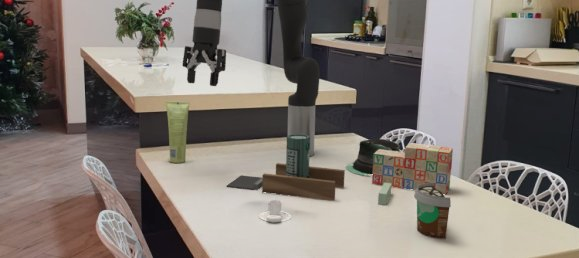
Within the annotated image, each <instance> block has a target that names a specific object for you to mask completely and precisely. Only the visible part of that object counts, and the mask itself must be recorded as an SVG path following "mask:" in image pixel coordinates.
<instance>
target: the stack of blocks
mask: <svg viewBox="0 0 579 258" xmlns="http://www.w3.org/2000/svg"><path fill="white" fill-rule="evenodd" d="M404 148H405V149H404V151H399V152H398V151H390V150H382V149H379V150H378V151H376V152H375V153H374V154H373V175H371V176H372V177H371V178H372V179H371V184H372V185H378V184H379V185H380V186H383V184H384V183H392V184H391V186H393V187H392V188H396V187H398V189H403V188H406V190H410V189H413V190H412V191H416V189H417V187H418V186H419V185H420V184H424V183H432V182H434V187H435V188H436V189H437V190H439V191H441V192H442V194H445V195H444V196H446V195H447V194H448V192H449V190H450V186H451V177H452V175H451V173H452V166H453V165H452V164H453V153H454V152H453V151H454V148H453V147H448V146H447V147H446V146H441V145H435V144H424V143H414V142H413V143H412V142H409V143H408V144H407V145H406V146H405V147H404ZM446 193H447V194H446Z"/></svg>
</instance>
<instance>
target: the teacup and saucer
mask: <svg viewBox="0 0 579 258" xmlns="http://www.w3.org/2000/svg"><path fill="white" fill-rule="evenodd" d="M282 203H283V202H282V201H281V200H277V199H271V200H269V201H268V210H267V211H262V212H261V213H259V215H258V218H259V219H261V220H262V221H264V222H268V223H282V222H287V221H290V220H291V219H292V217H293V216H292V214H290V213H289V212H288V211H282ZM267 212H269V213H267ZM281 212H284V213H286V214H289V215H288V216H289V217H287V216H286V217H285V218H284V219H282V216H281V214H282V213H281ZM265 213H267V214H269V215H267V216H265V215H266V214H265ZM264 214H265V215H264ZM263 216H265V217H263Z"/></svg>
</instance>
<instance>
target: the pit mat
mask: <svg viewBox="0 0 579 258" xmlns="http://www.w3.org/2000/svg"><path fill="white" fill-rule="evenodd" d="M225 186H226V188H232V189H242V190H248V191H249V190H250V191H254V190H255V191H259V190H260V189H262V177H260V176H259V177H258V176H249V175H243V174H242V175H241V174H240V175H239V176H237V178H235V179H233V180H232V181H231V182H229V183H228V184H227V185H225ZM258 189H259V190H258Z"/></svg>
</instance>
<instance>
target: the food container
mask: <svg viewBox="0 0 579 258" xmlns="http://www.w3.org/2000/svg"><path fill="white" fill-rule="evenodd" d="M413 197H414V199H415V200H416V229H417V232H418V233H419V234H421V235H423V236H426V237H428V238H433V239H440V240H441V239H442V240H443V239H446V237H447V232H448V231H447V230H448V223H449V222H448V221H449V215H450V208H451V206H452V204H451V203H452V202H451V197H450V196H449V197H446V196H445V195H443V194H442V192H441V191H439V190H437V189H436V188H435V187H434V182H432V183H424V184H420V185H419V186H418V187H417V189H416V190H414V195H413Z"/></svg>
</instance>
